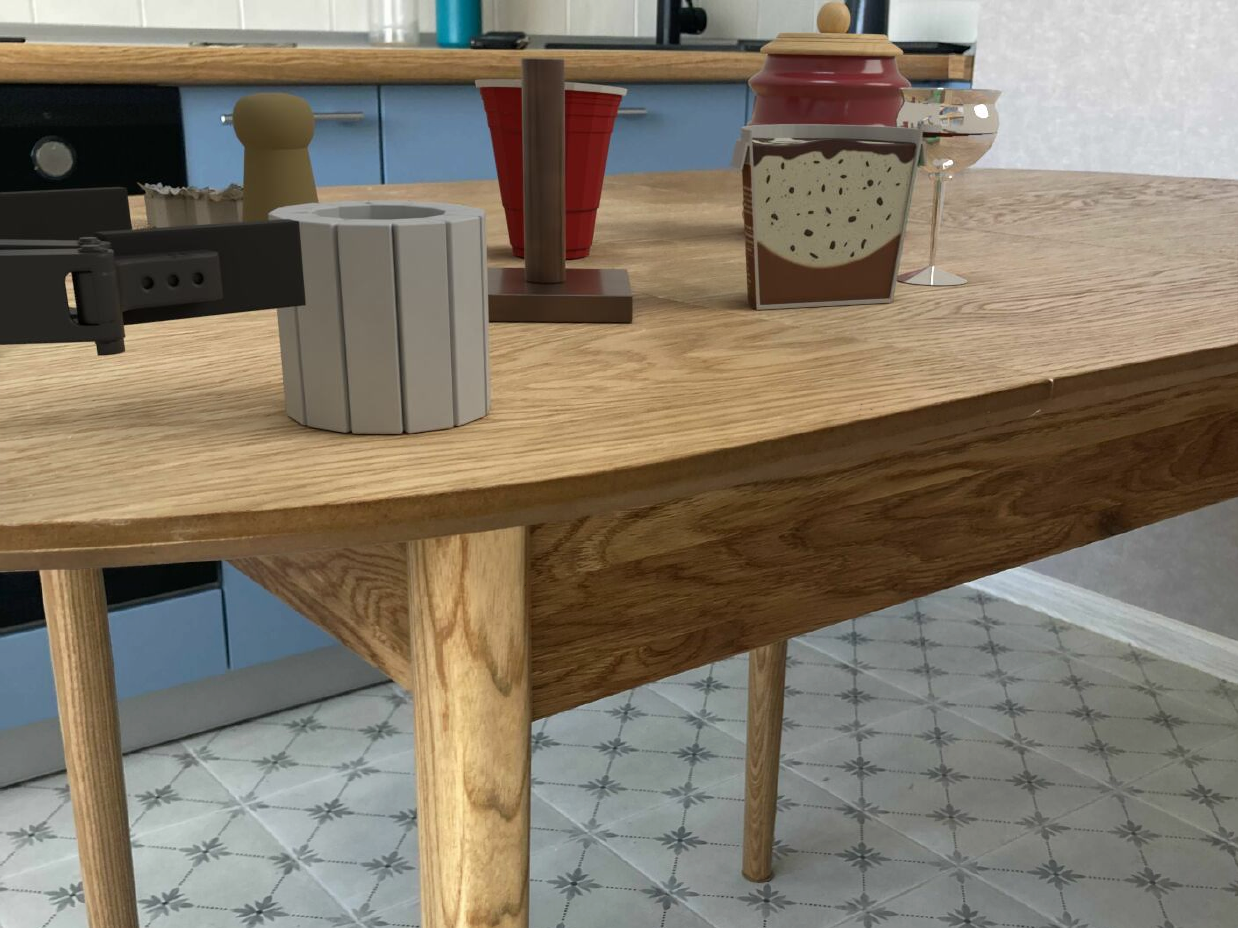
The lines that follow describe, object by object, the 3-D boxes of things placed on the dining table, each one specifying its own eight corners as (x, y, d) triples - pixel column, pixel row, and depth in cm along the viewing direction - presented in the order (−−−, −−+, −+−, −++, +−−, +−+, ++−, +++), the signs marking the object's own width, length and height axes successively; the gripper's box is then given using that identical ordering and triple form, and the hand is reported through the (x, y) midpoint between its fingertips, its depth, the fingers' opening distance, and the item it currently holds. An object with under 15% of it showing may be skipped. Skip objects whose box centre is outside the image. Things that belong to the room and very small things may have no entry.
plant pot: (269, 433, 53) (249, 222, 50) (308, 385, 61) (293, 199, 58) (483, 435, 54) (476, 225, 51) (495, 386, 61) (490, 201, 58)
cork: (301, 276, 89) (286, 95, 84) (222, 270, 91) (203, 93, 86) (348, 264, 94) (336, 93, 90) (272, 258, 96) (257, 90, 91)
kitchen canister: (898, 248, 107) (921, 0, 99) (734, 242, 108) (745, -3, 101) (895, 229, 118) (916, 5, 111) (747, 223, 120) (758, 3, 113)
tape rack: (454, 321, 76) (443, 57, 70) (467, 291, 85) (459, 56, 79) (632, 323, 76) (636, 61, 71) (626, 293, 85) (630, 59, 80)
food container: (864, 285, 89) (877, 123, 85) (913, 301, 84) (930, 129, 80) (692, 294, 85) (698, 124, 81) (733, 311, 80) (742, 130, 76)
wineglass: (972, 290, 89) (995, 92, 84) (870, 282, 91) (887, 89, 86) (987, 276, 94) (1010, 90, 89) (891, 269, 97) (908, 87, 92)
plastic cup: (649, 251, 103) (652, 80, 98) (584, 269, 94) (585, 81, 89) (524, 241, 107) (521, 76, 102) (451, 257, 98) (444, 77, 93)
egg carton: (294, 223, 115) (291, 172, 113) (262, 234, 108) (258, 180, 107) (174, 219, 116) (168, 168, 114) (135, 229, 109) (128, 175, 108)
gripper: (-528, 359, 47) (85, 299, 60) (-428, 546, 30) (396, 405, 43) (-606, 125, 43) (59, 116, 57) (-544, 186, 27) (382, 153, 40)
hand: (205, 241), depth 50 cm, fingers open, 13 cm apart
